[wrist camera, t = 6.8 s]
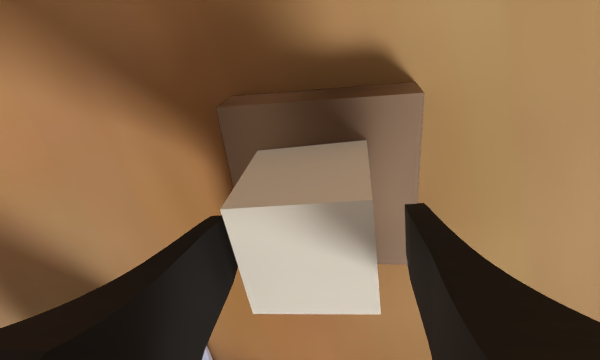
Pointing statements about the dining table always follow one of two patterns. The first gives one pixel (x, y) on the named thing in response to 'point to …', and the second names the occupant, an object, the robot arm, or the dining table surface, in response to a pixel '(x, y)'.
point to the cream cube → (306, 230)
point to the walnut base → (340, 128)
